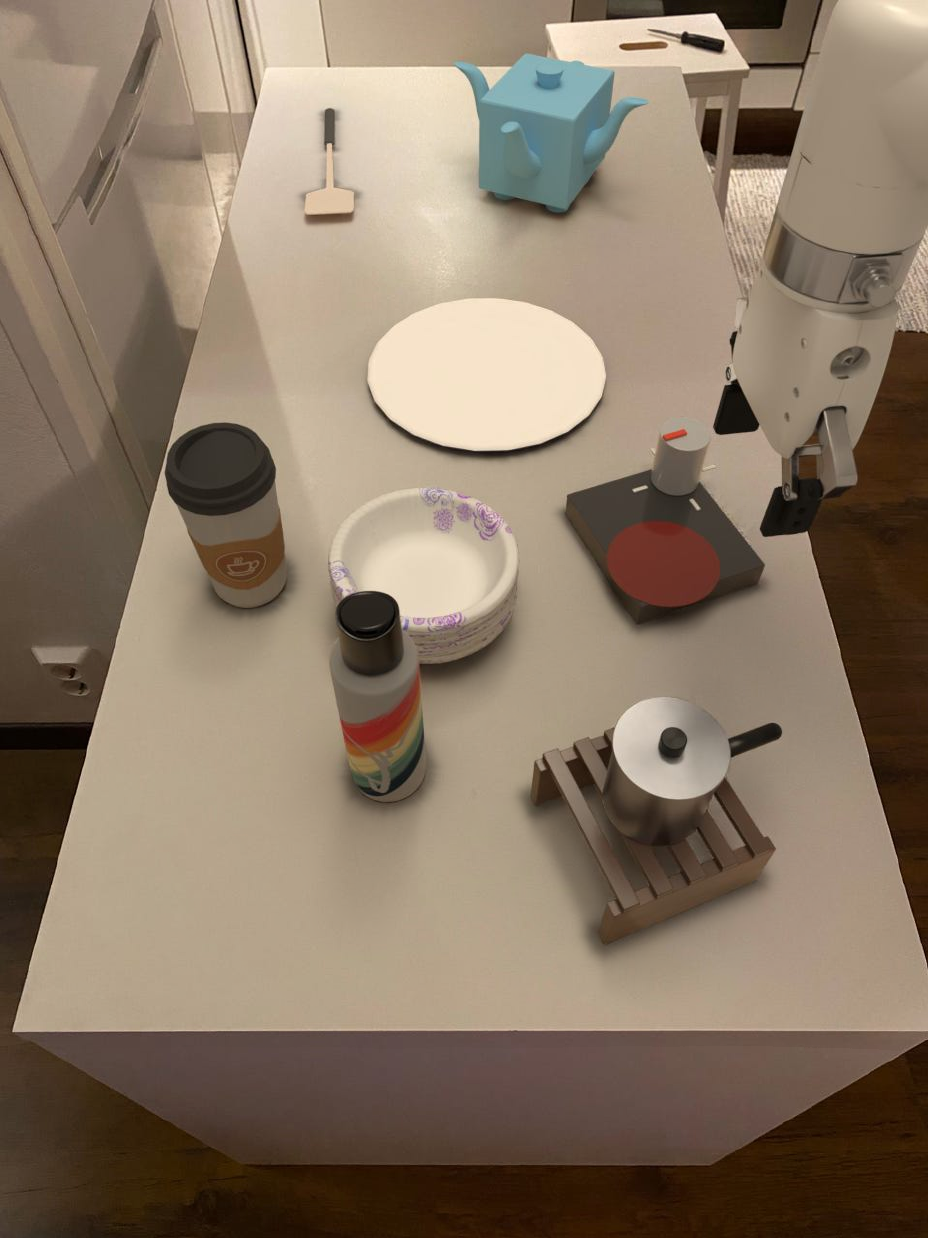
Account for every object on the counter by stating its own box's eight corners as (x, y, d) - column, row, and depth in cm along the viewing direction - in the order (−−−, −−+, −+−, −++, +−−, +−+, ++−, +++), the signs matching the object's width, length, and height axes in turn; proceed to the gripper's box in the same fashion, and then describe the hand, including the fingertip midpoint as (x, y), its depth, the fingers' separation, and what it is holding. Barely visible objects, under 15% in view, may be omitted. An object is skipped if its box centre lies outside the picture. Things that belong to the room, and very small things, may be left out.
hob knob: (683, 457, 89) (695, 408, 84) (707, 487, 86) (721, 439, 82) (641, 469, 88) (651, 421, 83) (665, 501, 85) (676, 453, 81)
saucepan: (581, 773, 65) (593, 709, 58) (739, 713, 68) (768, 646, 61) (631, 866, 61) (650, 809, 54) (796, 798, 64) (834, 736, 57)
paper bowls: (526, 557, 85) (531, 494, 78) (501, 699, 76) (504, 641, 69) (360, 536, 86) (352, 472, 80) (317, 673, 77) (303, 613, 71)
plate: (422, 286, 110) (421, 277, 109) (631, 333, 104) (633, 324, 103) (327, 422, 96) (325, 412, 95) (564, 485, 90) (565, 475, 89)
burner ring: (683, 509, 85) (683, 508, 85) (741, 586, 79) (741, 586, 79) (587, 540, 83) (587, 539, 82) (640, 621, 77) (640, 620, 77)
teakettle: (576, 142, 130) (586, 23, 119) (638, 210, 120) (657, 87, 108) (447, 167, 126) (445, 47, 115) (500, 239, 116) (503, 115, 104)
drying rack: (671, 742, 73) (685, 700, 68) (756, 880, 66) (779, 845, 62) (530, 795, 70) (534, 756, 66) (604, 945, 64) (615, 913, 59)
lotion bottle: (349, 804, 70) (314, 648, 54) (353, 737, 73) (322, 571, 58) (426, 803, 70) (414, 647, 54) (427, 736, 74) (416, 571, 58)
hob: (686, 456, 92) (691, 436, 90) (780, 575, 83) (789, 555, 81) (554, 496, 89) (556, 476, 87) (637, 625, 80) (641, 605, 78)
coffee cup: (205, 627, 80) (159, 502, 68) (201, 554, 85) (158, 425, 73) (304, 610, 81) (276, 484, 69) (294, 539, 86) (266, 410, 74)
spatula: (305, 225, 118) (304, 213, 117) (308, 113, 135) (307, 102, 134) (354, 222, 118) (353, 211, 117) (351, 111, 136) (350, 100, 135)
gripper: (982, 341, 46) (861, 569, 59) (843, 161, 56) (767, 391, 70) (834, 355, 45) (746, 583, 59) (720, 170, 55) (668, 400, 69)
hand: (757, 478), depth 64 cm, fingers open, 9 cm apart
